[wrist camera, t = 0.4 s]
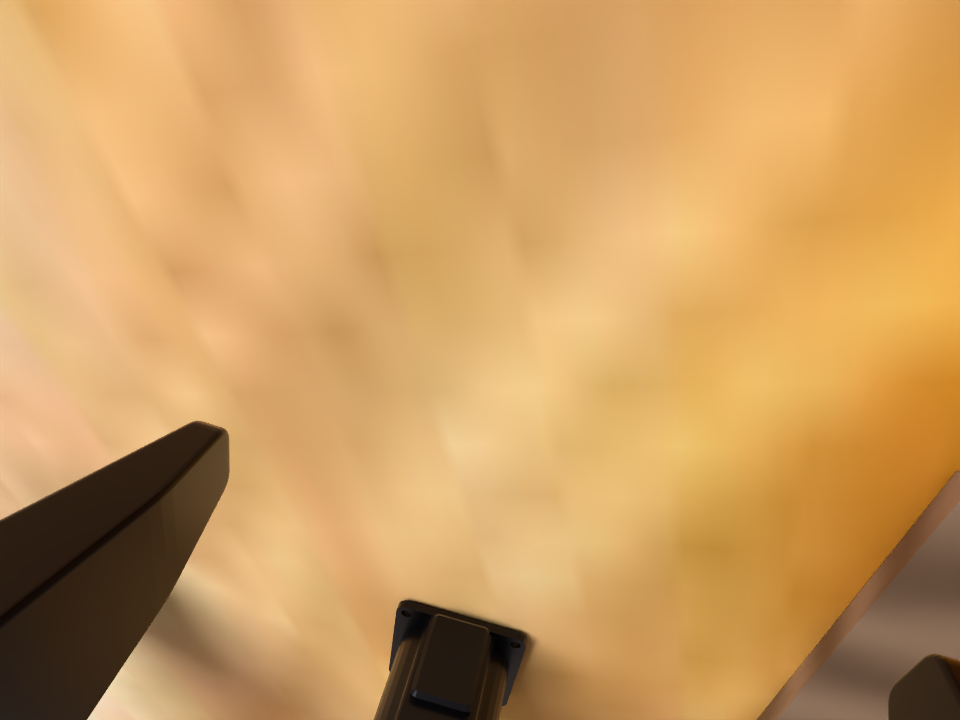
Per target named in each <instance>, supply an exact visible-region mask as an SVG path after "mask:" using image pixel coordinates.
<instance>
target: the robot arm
mask: <svg viewBox="0 0 960 720" xmlns="http://www.w3.org/2000/svg"><path fill="white" fill-rule="evenodd" d="M228 478H229V434H228V432H227V431H226V429H224V428H222V427H219V426H215V425H212V424H209V423H206V422H202V421H194V422H191V423H189V424H187V425H185V426H183V427H181V428H179V429H177V430H175V431H173V432H171V433H169V434H167V435H165V436H163V437H161V438H159V439H158V440H156V441H154V442H152V443H150V444H148V445H146V446H144V447H142V448H140V449H138V450H136V451H134V452H132V453H130V454H128V455H126V456H124V457H122V458H120V459H119V460H117V461H115V462H113V463H111V464H109V465H107V466H105V467H103V468H101V469H99V470H97V471H95V472H93V473H91V474H89V475H87V476H85V477H83V478H81V479H79V480H78V481H76V482H74V483H72V484H70V485H68V486H66V487H64V488H62V489H60V490H58V491H56V492H54V493H52V494H50V495H48V496H46V497H44V498H42V499H40V500H39V501H37V502H35V503H33V504H31V505H29V506H27V507H25V508H23V509H21V510H19V511H17V512H15V513H13V514H11V515H9V516H7V517H5V518H3V519H1V520H0V720H87V719H88V717H89V716H90V714H91V713H92V711H93V710H94V708H95V707H96V705H97V704H98V702H99V701H100V699H101V698H102V696H103V695H104V693H105V692H106V690H107V689H108V687H109V686H110V684H111V683H112V681H113V680H114V678H115V677H116V675H117V674H118V672H119V671H120V669H121V668H122V666H123V665H124V663H125V662H126V660H127V659H128V657H129V656H130V654H131V653H132V651H133V650H134V648H135V647H136V645H137V644H138V642H139V641H140V639H141V638H142V636H143V635H144V633H145V632H146V630H147V629H148V627H149V626H150V624H151V623H152V621H153V620H154V618H155V617H156V615H157V614H158V612H159V611H160V609H161V608H162V606H163V604H164V603H165V601H166V600H167V598H168V596H169V595H170V593H171V591H172V590H173V588H174V586H175V584H176V582H177V580H178V579H179V577H180V575H181V573H182V571H183V569H184V567H185V565H186V563H187V561H188V559H189V557H190V555H191V554H192V552H193V550H194V548H195V546H196V544H197V542H198V540H199V538H200V536H201V534H202V532H203V530H204V528H205V527H206V525H207V523H208V521H209V519H210V517H211V515H212V513H213V511H214V509H215V507H216V505H217V503H218V501H219V500H220V498H221V496H222V494H223V492H224V490H225V487H226V485H227V482H228ZM526 643H527V638H526V636H525V635H523V634H522V633H519V632H516V631H513V630H509V629H506V628H502V627H499V626H495V625H492V624H488V623H485V622H481V621H478V620H474V619H471V618H467V617H464V616H460V615H457V614H453V613H450V612H446V611H443V610H439V609H436V608H432V607H429V606H425V605H422V604H418V603H415V602H411V601H406V600H405V601H401V602H400V603H399V605H398V608H397V611H396V619H395V626H394V634H393V642H392V650H391V658H390V665H389V671H390V674H389V677H388V680H387V683H386V686H385V689H384V692H383V694H382V697H381V700H380V703H379V706H378V709H377V712H376V715H375V718H374V720H499V717H500V712H501V707H502V706H504V705H506V704H507V701H508V698H509V695H510V692H511V689H512V686H513V683H514V680H515V677H516V674H517V672H518V669H519V666H520V663H521V660H522V657H523V654H524V651H525V648H526ZM888 720H960V661H959V660H955V659H952V658H949V657H946V656H943V655H940V654H930V655H927V656H925V657H924V658H923V659H922V660H920V661H919V662H918V663H917V664H916V665H915V666H914V667H912V668H911V669H910V670H909V671H908V672H907V673H906V674H905V675H903V676H902V677H901V678H900V679H899V680H898V681H897V682H896V683H895V684H894V685H893V687H892V688H891V691H890V694H889V698H888Z"/></svg>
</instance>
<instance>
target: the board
mask: <svg viewBox="0 0 960 720" xmlns="http://www.w3.org/2000/svg"><path fill="white" fill-rule="evenodd" d="M930 654H940V655H943V656H946V657H949V658H952V659H955V660H959V661H960V472H959V471H956V473H955V474H954V475H953V476H952V478H951V479H950V480H949V481H948V483H947V484H946V485H945V486H944V488H943V489H942V490H941V491H940V493H939V494H938V495H937V496H936V498H935V499H934V500H933V501H932V503H931V504H930V505H929V506H928V508H927V509H926V510H925V511H924V512H923V514H922V515H921V516H920V517H919V519H918V520H917V521H916V522H915V524H914V525H913V526H912V527H911V529H910V530H909V531H908V532H907V534H906V535H905V536H904V537H903V539H902V540H901V541H900V542H899V544H898V545H897V546H896V547H895V549H894V550H893V551H892V552H891V554H890V555H889V556H888V557H887V559H886V560H885V561H884V562H883V564H882V565H881V566H880V567H879V569H878V570H877V571H876V572H875V574H874V575H873V576H872V577H871V579H870V580H869V581H868V582H867V584H866V585H865V586H864V587H863V588H862V590H861V591H860V592H859V593H858V595H857V596H856V597H855V598H854V600H853V601H852V602H851V603H850V605H849V606H848V607H847V608H846V610H845V611H844V612H843V613H842V615H841V616H840V617H839V618H838V620H837V621H836V622H835V623H834V625H833V626H832V627H831V628H830V630H829V631H828V632H827V633H826V635H825V636H824V637H823V638H822V640H821V641H820V642H819V643H818V645H817V646H816V647H815V648H814V650H813V651H812V652H811V653H810V655H809V656H808V657H807V658H806V659H805V661H804V662H803V663H802V664H801V666H800V667H799V668H798V669H797V671H796V672H795V673H794V674H793V676H792V677H791V678H790V679H789V681H788V682H787V683H786V684H785V686H784V687H783V688H782V689H781V691H780V692H779V693H778V694H777V696H776V697H775V698H774V699H773V701H772V702H771V703H770V704H769V706H768V707H767V708H766V709H765V711H764V712H763V713H762V714H761V716H760V717H759V718H758V719H757V720H888V698H889V694H890V691H891V688H892V687H893V685H894V684H895V683H896V682H897V681H898V680H899V679H900V678H901V677H902V676H903V675H905V674H906V673H907V672H908V671H909V670H910V669H911V668H912V667H914V666H915V665H916V664H917V663H918V662H919V661H920V660H922V659H923V658H924V657H925V656H927V655H930Z"/></svg>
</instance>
